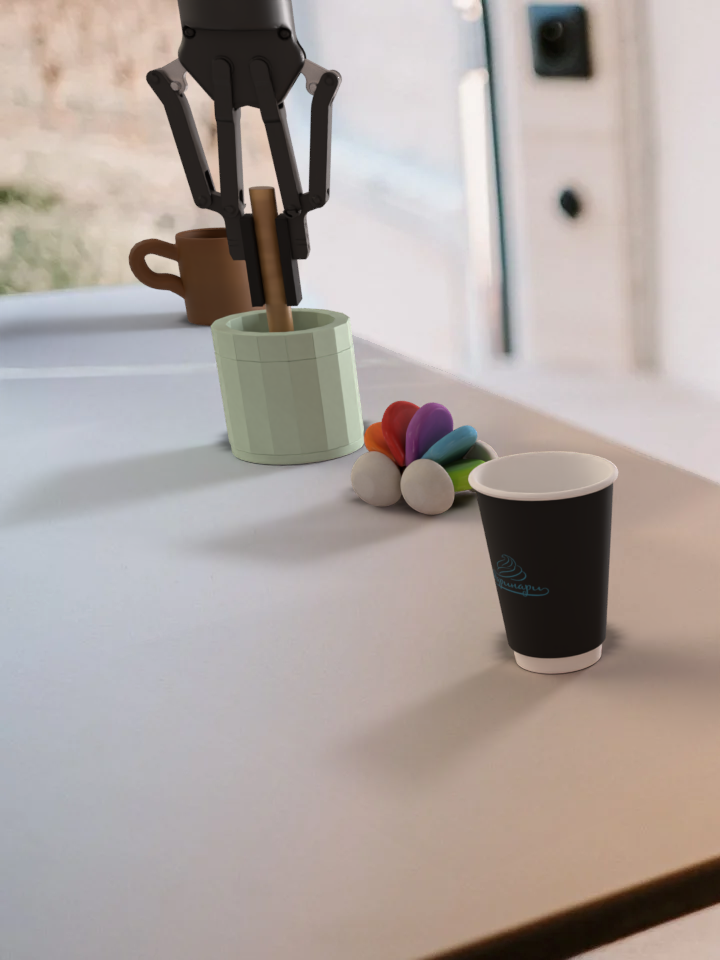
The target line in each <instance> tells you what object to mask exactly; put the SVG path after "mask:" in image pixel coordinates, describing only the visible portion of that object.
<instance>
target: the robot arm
mask: <svg viewBox="0 0 720 960" xmlns="http://www.w3.org/2000/svg"><path fill="white" fill-rule="evenodd" d="M176 1H177V7H178V13H179V20H180V27H181V35H182V36H181V42H180V45H179V47H178V49H177V58H176V59H174V60H172V61H170V62H168V63H166V64H165V65H163V66H162V67H158V68H154V69H152V70H149V71H148V72H147V73H146V76H145V81H146V83H147V84H148V86H149V87H150V89H151V90H152V91H153V93H154V94H155V96H156V97H157V98H158V100H159V101H160V102H161V104H162V105H163V108H164V111H165V114H166V118H167V121H168V124H169V127H170V130H171V133H172V136H173V140H174V143H175V146H176V149H177V152H178V155H179V158H180V162H181V164H182V165H181V166H182V169H183V171H184V174H185V177H186V180H187V183H188V186H189V190H190V195H191V197H192V199H193V200H192V201H193V203H194V204H195V206H196V207H197V208H198V209H201V210H208V211H212V212H215V213H217V214H219V215H220V216H221V217H222V219H223V222H224V226H225V228H226V234H227V240H228V248H229V254H230V256H231V257H232V259H233V260H245V262H246V269H247V275H248V282H249V289H250V296H251V303H252V307H263V306H264V304H265V300H264V293H263V286H262V279H261V272H260V265H259V258H258V251H257V244H256V237H255V230H254V223H253V216H252V212H251V213H250V212H249V213H247V212H246V213H245V209H246V207H247V203H245V188H244V187H245V186H244V170H243V168H244V167H243V147H242V129H241V118H242V108H244V107H251V108H255V109H259V112H260V117H261V120H262V123H263V125H264V129H265V134H266V138H267V141H268V146H269V150H270V155H271V159H272V164H273V168H274V172H275V176H276V180H277V185H278V189H279V194H280V199H281V203H282V207H283V210H282V212H280V213H278V216H277V217H276V218H275V223H276V231H277V238H278V245H279V252H280V259H281V267H282V274H283V281H284V288H285V295H286V303H287V306H291V307H298V306H299V305H300V303H301V302H302V301H303V293H302V283H301V278H300V270H299V269H300V268H299V263H298V261H299V260H307V259H308V258H309V257H310V253H311V242H310V234H309V228H308V227H309V226H308V220H307V215H308V213H310V212H312V211H315V210H317V209H321V208H323V207H324V206H325V205H326V204H327V203H328V201H329V200H330V194H331V167H332V137H333V136H332V134H333V105H334V104H333V103H334V102H335V98H336V96H337V94H338V91H339V90H340V87H341V85H342V82H343V77H342V75H341V73H340V72H339V71H338V70H336V69H327V68H325V67H323V66H322V65H320V64H317V63H316V62H314V61H312V60H310V59H308V58H307V54H306V53H307V52H306V51H305V49H304V48H303V46H302V45H301V43H300V41H299V39H298V37H297V33H296V25H295V17H294V16H295V15H294V10H293V2H292V0H176ZM187 73H188V74H189V76H191V78H192V79H193V80H194V81H195V82H196V84H197V85H198V86H199V87H200V88H202V90H203V92H205V93H206V95H207V96H208V97H209V98H210V99H211V100H212V101H213V108H214V109H213V110H214V112H213V113H214V119H215V122H216V137H217V138H216V139H217V155H218V157H217V158H218V172H219V173H218V175H219V176H218V177H219V190H220V191H217V189H216V186H215V183H214V179H213V176H212V174H211V170H210V166H209V164H208V160H207V157H206V154H205V151H204V148H203V144H202V141H201V137H200V134H199V131H198V128H197V124H196V121H195V118H194V115H193V112H192V109H191V105H190V103H189V100H188V98H187V96H186V94H185V93H186V92H187V91H188V88H189V83H188V80H187V77H186V76H187ZM301 74H302V75H303V76H304V78H305V90H306V91H307V93H308V94H309V95H311V96H312V99H311V103H310V119H309V120H310V123H309V157H308V159H309V161H308V162H309V165H308V169H309V170H308V191H306V192H304V191H303V186H302V182H301V181H302V180H301V176H300V173H299V168H298V164H297V159H296V155H295V151H294V145H293V142H292V136H291V132H290V128H289V123H288V119H287V109H286V106H285V105H286V104H285V100H286V98H287V97H288V95H289V94H290V92H291V90H292V89H293V87H294V85H295V83H296V82H297V81H298V79H299V77H300V75H301Z"/></svg>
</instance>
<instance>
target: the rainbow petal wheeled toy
mask: <svg viewBox="0 0 720 960" xmlns="http://www.w3.org/2000/svg"><path fill="white" fill-rule="evenodd" d="M451 413H452V412H450V410H449V409H448V408H447V407H446V406H444V405H443V404H441V403H439V402H428V403H424V404H423V405H422V406H421V407H420V406H418V405H417V404H416V403H413V402H410V401H407V400H396V401H393V402H392V403H390V404H389V405H388V406H387V407H386V409H385V410H384V412H383V415H382V418H381V421H377V422H374V423H372V424H370V425H369V426H368V427H366V429H365V431H364V434H363V435H364V447H365V449H366V450H367V452H365V453H363V454H362V455H360V456H359V457H358V458H357V459H356V461H355V462H354V463H353V465H352V468H351V471H350V483H351V486H352V489H353V491H354V493H355V494H356V496H357V497H358V498H360V499H361V500H362V501H363V502H364V503H366V504H369V505H370V506H374V507H381V508H382V507H389V506H392V505H395V504H396V503H397V502H398V501H400V499H401V497H402V498H403V499H404V501H405V502H406V504H407V505H408V506H409V507H410V508H411V509H413V510H415V511H416V512H419V513H420V514H425V515H430V516H433V515H441V514H443V513H446V512H447V511H448V510H449V509H450V508H451V507H452V506H453V503H454V500H455V493H458V492H465V491H469V492H472V493H476V491H475V489H474V488H472V487H471V486H470V484H469V481H468V477H469V474H470V473H471V471H472V470H473V469H474V468H476V467H477V466H479V465H481V464H483V463H485V462H487V461H490V460H493V459H496V458H499V456H498V454H497V452H496V450H495V449H494V448H493V447H492V446H491V445H490V444H489V443H487V442H485V441H483V440H481V439H478V431H477V430H476V428H475V427H473V426H471V425H469V424H467V425H466V424H465V425H462V426H458V427H457V428H455V429H454V419H453V416H452V414H451Z"/></svg>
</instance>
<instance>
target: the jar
mask: <svg viewBox="0 0 720 960" xmlns="http://www.w3.org/2000/svg"><path fill="white" fill-rule="evenodd" d="M291 311H292V319H293V326H294V331H291V332H269V328H268V321H267V314H266V310H256V311H249V312H244V313H239V314H233V315H229V316H226V317H223V318H220V319H218V320H215V321H214V323H213V324H212V325H211V326H210V331H211V337H212V344H213V350H214V358H215V363H216V369H217V376H218V382H219V388H220V395H221V400H222V401H221V402H222V407H223V412H224V419H225V426H226V432H227V437H228V443H229V444H230V449H231V453H232V455H233V457H235V458H237V459H238V460H241V461H244V462H249V463H253V464H259V465H270V466H271V465H272V466H273V465H275V466H276V465H277V466H283V465H284V466H285V465H286V466H289V465H291V466H292V465H302V464H304V465H305V464H310V463H313V464H314V463H319V462H325V461H329V460H334V459H338V458H342V457H345V456H348V455H350V454H353V453H354V452H356V451H358V450H360V449H361V448H362V447H363V446H364V445H365V443H364V435H365V434H364V433H365V427H364V426H365V425H364V419H363V412H362V404H361V395H360V386H359V380H358V372H357V362H356V355H355V347H354V340H353V333H352V332H353V331H352V324H351V317H350V316H348V315H347V314H345V313H343V312H340V311H335V310H332V309H331V310H330V309H323V308H309V307H291Z"/></svg>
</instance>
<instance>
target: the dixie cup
mask: <svg viewBox="0 0 720 960" xmlns="http://www.w3.org/2000/svg"><path fill="white" fill-rule="evenodd" d="M618 477H619V469H618V467H617V466H616V464H615V463H613V462H612V461H611V460H609V459H607V458H605V457H602V456H598V455H595V454H591V453H585V452H576V451H563V450H561V451H560V450H549V451H531V452H521V453H516V454H509V455H504V456H500V457H498V458H496V459H493V460H490V461H487V462H485V463H483V464H481V465H479V466H477V467H476V468H474V469H473V470H472V471H471V473H470V474H469V477H468V481H469V484H470V486H471V487H472V488H474V489H475V491H476V492H475V495H476V501H477V504H478V510H479V513H480V519H481V524H482V528H483V532H484V533H483V534H484V538H485V542H486V547H487V551H488V555H489V560H490V566H491V570H492V575H493V579H494V583H495V588H496V594H497V598H498V602H499V607H500V612H501V616H502V621H503V625H504V630H505V635H506V639H507V644H508V647H509V648H510V649H511V650H512V651H513V654H514V659H515V662H516V664H517V665H518V666H519V667H520V668H521V669H524V670H525V671H529V672H532V673H537V674H538V673H539V674H550V675H551V674H565V673H572V672H576V671H580V670H584V669H586V668H588V667H590V666H592V665H594V664H596V663H597V662H599V660H600V659H601V657H602V647H603V643H604V642H605V640H606V638H607V623H608V622H607V621H608V604H609V602H608V601H609V583H610V582H609V580H610V561H611V560H610V559H611V544H612V543H611V542H612V540H611V539H612V524H613V523H612V522H613V521H612V520H613V517H612V516H613V499H614V483H615V481H617V479H618Z"/></svg>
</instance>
